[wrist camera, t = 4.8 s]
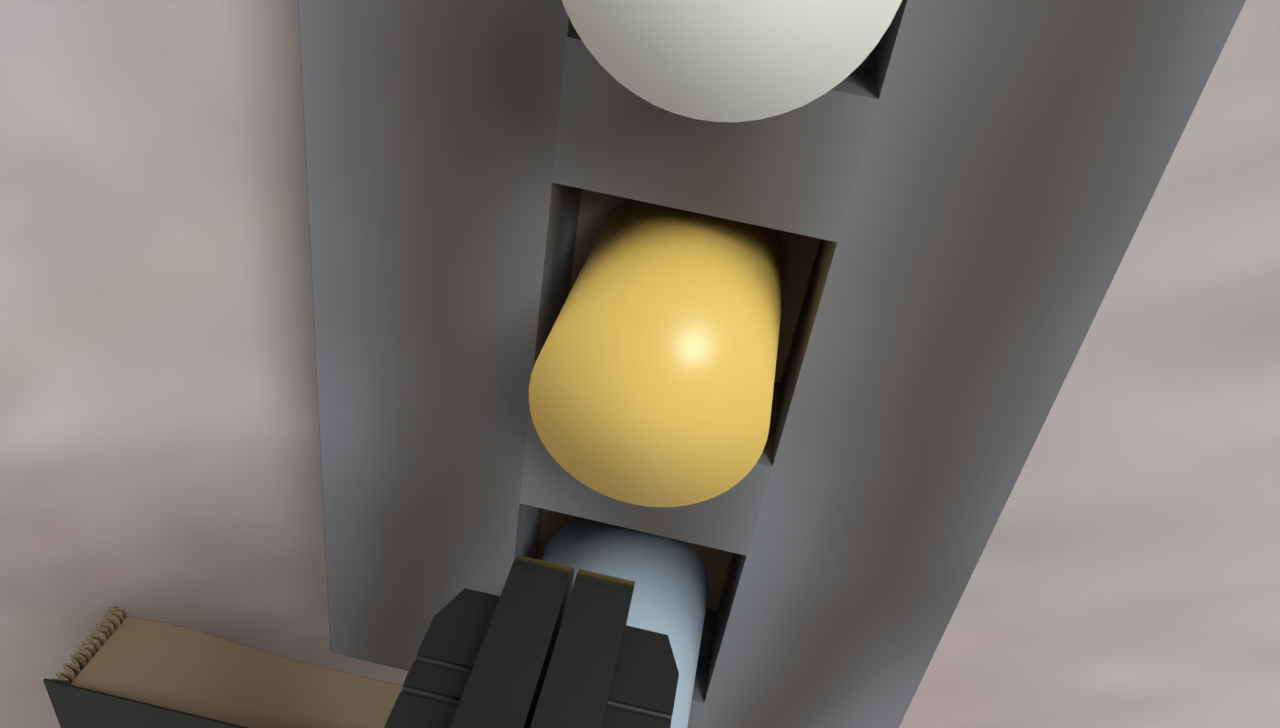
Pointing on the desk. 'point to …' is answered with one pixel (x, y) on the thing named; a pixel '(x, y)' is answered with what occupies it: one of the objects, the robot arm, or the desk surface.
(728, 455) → the amber button
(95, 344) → the desk surface
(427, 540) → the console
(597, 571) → the slate button
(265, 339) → the desk surface
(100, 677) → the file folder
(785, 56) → the ivory button
